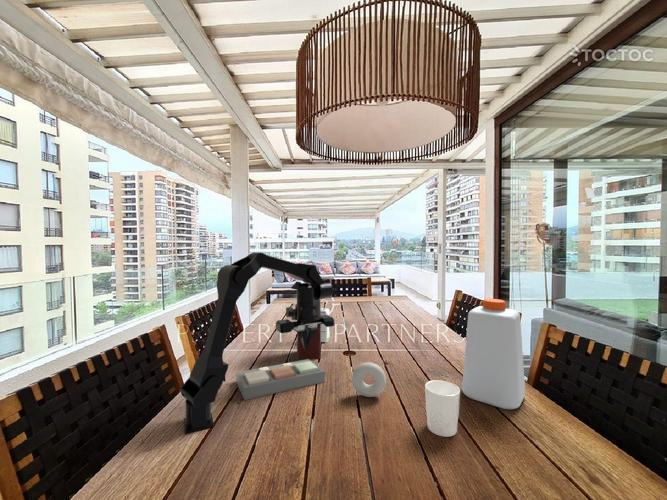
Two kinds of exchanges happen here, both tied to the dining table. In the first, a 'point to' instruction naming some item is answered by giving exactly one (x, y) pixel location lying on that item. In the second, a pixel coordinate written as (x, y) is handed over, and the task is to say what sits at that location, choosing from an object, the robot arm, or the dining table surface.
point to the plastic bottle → (494, 356)
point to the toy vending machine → (315, 344)
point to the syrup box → (325, 330)
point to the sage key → (305, 367)
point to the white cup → (442, 407)
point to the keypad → (278, 381)
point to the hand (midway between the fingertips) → (305, 349)
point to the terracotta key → (281, 372)
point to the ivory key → (256, 377)
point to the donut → (365, 388)
